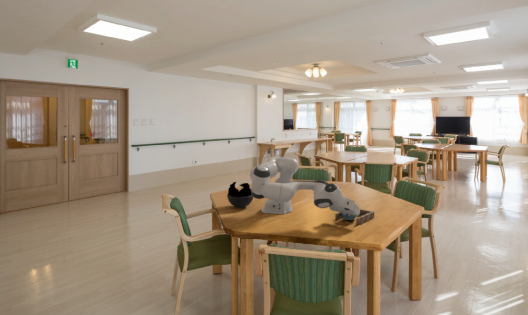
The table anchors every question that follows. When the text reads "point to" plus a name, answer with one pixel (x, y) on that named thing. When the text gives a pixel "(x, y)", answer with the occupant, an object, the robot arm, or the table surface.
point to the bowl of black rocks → (239, 195)
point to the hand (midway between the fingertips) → (348, 214)
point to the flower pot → (349, 216)
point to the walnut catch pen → (363, 217)
